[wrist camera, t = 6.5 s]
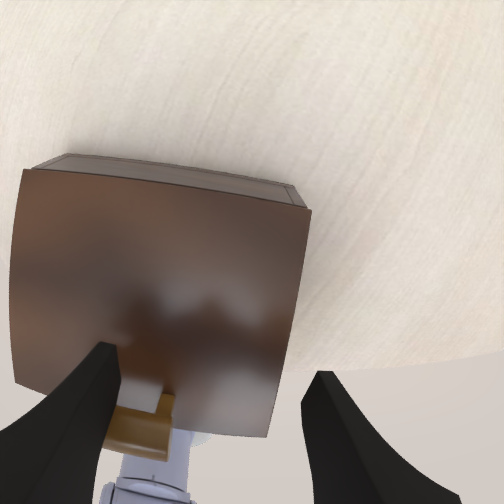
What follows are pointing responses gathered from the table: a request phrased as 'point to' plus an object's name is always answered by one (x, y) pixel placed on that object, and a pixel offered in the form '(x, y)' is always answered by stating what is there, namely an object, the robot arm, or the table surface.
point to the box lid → (156, 300)
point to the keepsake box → (175, 177)
